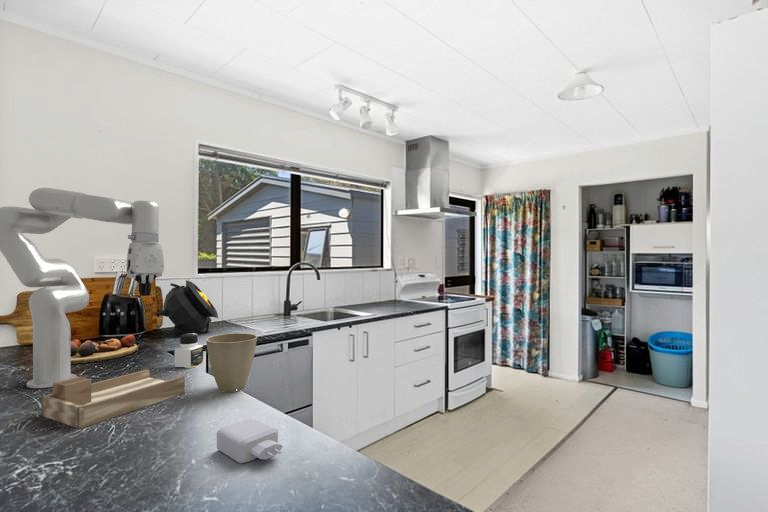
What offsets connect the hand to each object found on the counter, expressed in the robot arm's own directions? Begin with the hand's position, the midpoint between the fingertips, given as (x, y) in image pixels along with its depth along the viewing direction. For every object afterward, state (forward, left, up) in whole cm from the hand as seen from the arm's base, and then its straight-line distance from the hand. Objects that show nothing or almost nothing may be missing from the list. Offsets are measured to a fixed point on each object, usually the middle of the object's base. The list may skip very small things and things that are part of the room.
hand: (144, 295), depth 130 cm
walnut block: (+8, -24, -26) cm, 36 cm away
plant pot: (+30, +9, -29) cm, 42 cm away
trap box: (+11, -15, -29) cm, 34 cm away
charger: (+67, -19, -29) cm, 76 cm away
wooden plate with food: (-58, +15, -29) cm, 67 cm away
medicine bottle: (-6, +21, -29) cm, 36 cm away
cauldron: (-64, +64, -29) cm, 95 cm away
